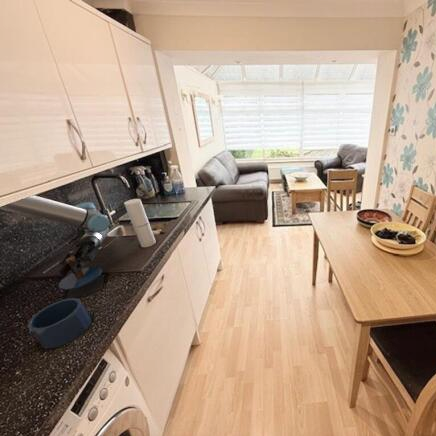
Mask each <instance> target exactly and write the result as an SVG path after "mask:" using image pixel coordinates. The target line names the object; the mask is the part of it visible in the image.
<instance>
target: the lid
mask: <svg viewBox="0 0 436 436" xmlns="http://www.w3.org/2000/svg"><path fill="white" fill-rule="evenodd" d="M76 261H77V260H76V258H75V257H74V256H73V257H69V258H67V259H66V262H67V263H68V265H69V267H70V268H71V267H72V266H73V265H74V263H75V262H76ZM102 272H103V270H102V268H101V267H99V266H88V267H84V268H82V267H81V268H80V269H79V271H78V272H77V273H76V274H73V272H71V273H70V274H68V275H66V276H65V277H63V278H62V280H60V282H59V283H58V288H59V289H60V290H64V291H69V290H70V289H75V288H78V287H81V286H84V285H86V284H88V283H90V282H92V281H93V280H95V279H96V278H97V277H98V276H100V275H102Z"/></svg>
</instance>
